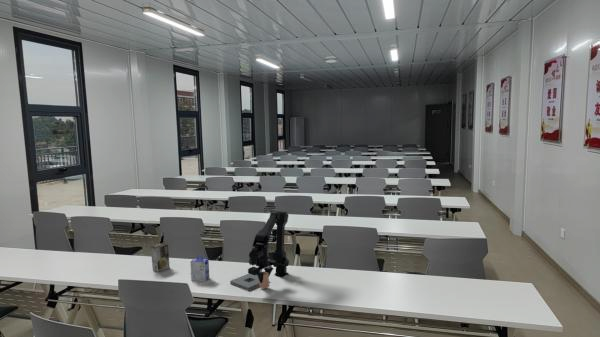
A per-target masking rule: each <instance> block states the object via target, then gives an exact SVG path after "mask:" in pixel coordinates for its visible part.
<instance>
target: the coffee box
mask: <svg viewBox="0 0 600 337" xmlns="http://www.w3.org/2000/svg"><path fill="white" fill-rule="evenodd" d="M150 253H151V254H150V255H151V265H152V268H151V269H152V271H155V272H157V273H159V272H162V271H163V270H167V269H170V266H171V265H170V257H169V255H170V254H169V244H167V243H164V242H161V243H158V244H155V245H152V246H150Z"/></svg>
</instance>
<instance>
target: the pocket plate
mask: <svg viewBox="0 0 600 337" xmlns="http://www.w3.org/2000/svg"><path fill="white" fill-rule="evenodd" d="M229 282H230V285H232V286H235V287H237V288H240V289H242V290H245V291H248V292H249V291H252V290H254V289H256V288H259V278H258V276H257V275H252V274H249V273H246V274H244V275H241V276H239V277H237V278H234V279H232V280H230V281H229Z"/></svg>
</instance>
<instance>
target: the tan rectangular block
mask: <svg viewBox="0 0 600 337" xmlns="http://www.w3.org/2000/svg"><path fill="white" fill-rule="evenodd" d="M262 272H264V274H263V281H262V283H260V281H259V286H258V288H261V289H263V290H265V289H267V288H269V287H270V276H269V273H267V272H265V270H264V271H263V270H262Z"/></svg>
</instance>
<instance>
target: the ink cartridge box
mask: <svg viewBox="0 0 600 337" xmlns="http://www.w3.org/2000/svg"><path fill="white" fill-rule="evenodd" d="M189 263H190V279H191V280H190V281H194V282H195V281H196V282H198V281H199V282H207V281H208V280H209V279H210V264H209V263H210V262H209V258H204V255H197V258H193V259H192V260H191V261H190V262H189Z"/></svg>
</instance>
